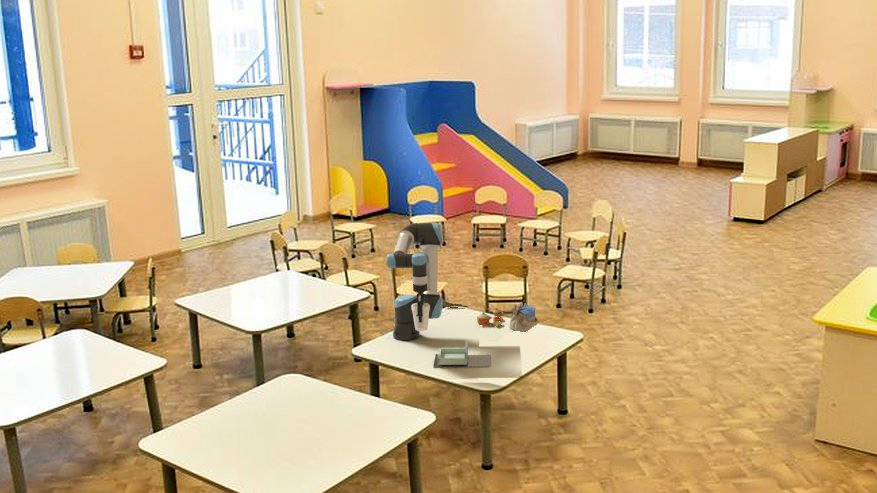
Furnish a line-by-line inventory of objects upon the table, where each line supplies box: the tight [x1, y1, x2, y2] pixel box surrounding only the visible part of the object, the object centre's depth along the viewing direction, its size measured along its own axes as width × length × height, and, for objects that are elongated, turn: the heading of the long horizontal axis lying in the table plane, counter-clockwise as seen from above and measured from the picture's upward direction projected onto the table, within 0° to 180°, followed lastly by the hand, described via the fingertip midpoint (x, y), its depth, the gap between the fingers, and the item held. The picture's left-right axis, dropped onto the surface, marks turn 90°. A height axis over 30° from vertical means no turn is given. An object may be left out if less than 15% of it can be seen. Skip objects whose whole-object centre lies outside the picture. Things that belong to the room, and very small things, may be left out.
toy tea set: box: [476, 307, 504, 328], centre depth 513 cm, size 26×16×10 cm, turn 172°
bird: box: [442, 300, 469, 309], centre depth 537 cm, size 18×8×10 cm, turn 71°
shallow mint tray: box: [437, 340, 469, 366], centre depth 450 cm, size 17×15×7 cm
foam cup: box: [412, 303, 430, 332], centre depth 451 cm, size 10×9×13 cm
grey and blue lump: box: [509, 302, 539, 333], centre depth 503 cm, size 26×16×16 cm, turn 154°
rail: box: [432, 353, 491, 369], centre depth 451 cm, size 18×29×1 cm, turn 86°
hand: (421, 324), depth 452 cm, fingers closed on foam cup, 9 cm apart
